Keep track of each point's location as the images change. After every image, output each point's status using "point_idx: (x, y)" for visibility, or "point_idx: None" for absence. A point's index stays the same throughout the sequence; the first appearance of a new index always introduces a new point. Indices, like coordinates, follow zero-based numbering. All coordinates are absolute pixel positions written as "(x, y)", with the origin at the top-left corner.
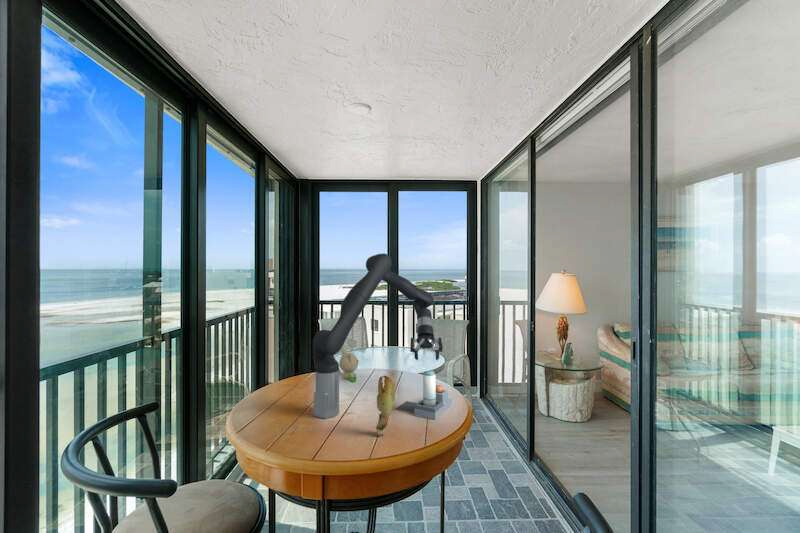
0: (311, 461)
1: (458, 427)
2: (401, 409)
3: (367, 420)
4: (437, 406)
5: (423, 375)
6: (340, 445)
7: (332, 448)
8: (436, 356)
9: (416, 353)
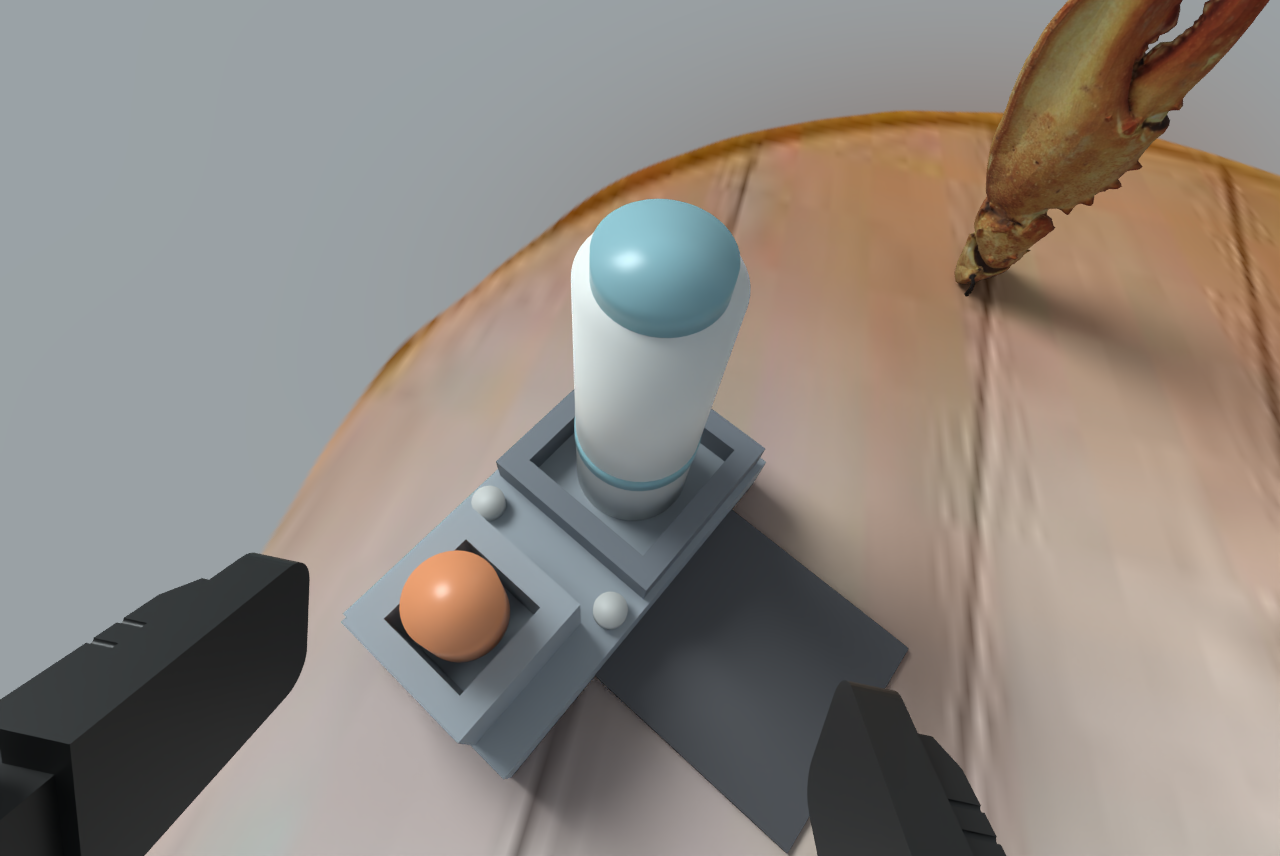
0: (1221, 158)
1: (516, 259)
2: (851, 615)
3: (1096, 476)
4: None
5: (746, 276)
6: (1153, 235)
7: (1180, 220)
8: (269, 574)
9: (945, 817)
